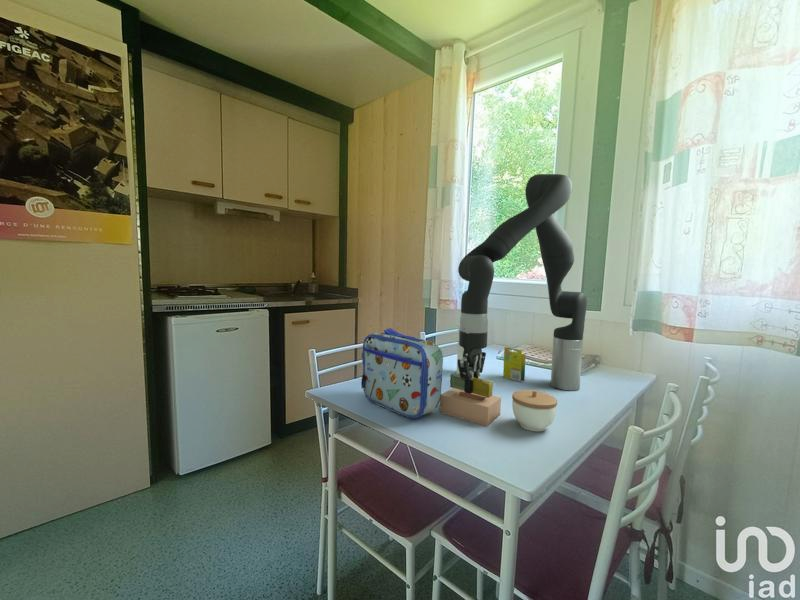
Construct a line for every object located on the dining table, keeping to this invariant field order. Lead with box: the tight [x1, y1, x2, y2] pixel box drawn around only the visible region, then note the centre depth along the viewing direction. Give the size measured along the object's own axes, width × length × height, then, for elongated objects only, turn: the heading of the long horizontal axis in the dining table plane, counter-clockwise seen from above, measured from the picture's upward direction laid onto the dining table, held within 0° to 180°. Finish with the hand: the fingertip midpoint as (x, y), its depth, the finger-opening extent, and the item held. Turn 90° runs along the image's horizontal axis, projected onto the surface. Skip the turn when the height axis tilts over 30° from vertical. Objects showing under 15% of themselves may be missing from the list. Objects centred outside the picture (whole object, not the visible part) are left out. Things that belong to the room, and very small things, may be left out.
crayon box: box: [502, 346, 526, 383], centre depth 130 cm, size 7×3×12 cm, turn 40°
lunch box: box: [360, 327, 444, 419], centre depth 100 cm, size 28×10×22 cm, turn 44°
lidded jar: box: [511, 389, 558, 432], centre depth 90 cm, size 11×11×9 cm
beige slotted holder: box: [439, 387, 502, 427], centre depth 97 cm, size 9×14×5 cm, turn 54°
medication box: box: [449, 372, 494, 398], centre depth 97 cm, size 12×3×4 cm, turn 50°
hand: (471, 390), depth 97 cm, fingers closed on medication box, 3 cm apart
